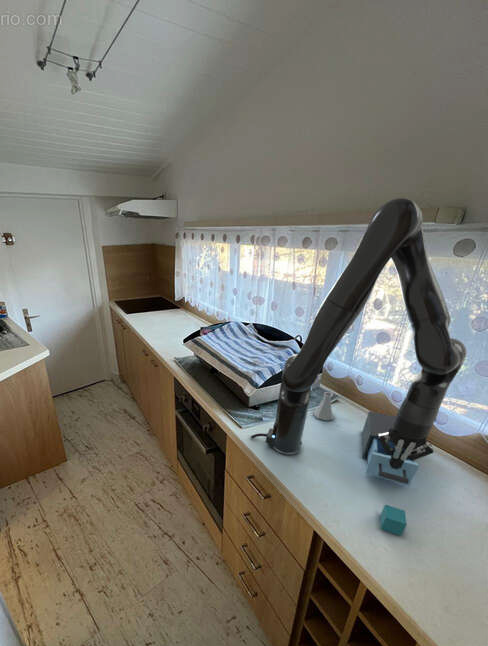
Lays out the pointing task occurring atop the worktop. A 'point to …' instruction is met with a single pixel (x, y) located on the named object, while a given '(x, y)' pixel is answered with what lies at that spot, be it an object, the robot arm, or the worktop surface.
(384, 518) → the teal block
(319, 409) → the flask
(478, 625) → the worktop surface
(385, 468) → the light blue drawer box
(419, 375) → the robot arm
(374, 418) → the grey hollow box
